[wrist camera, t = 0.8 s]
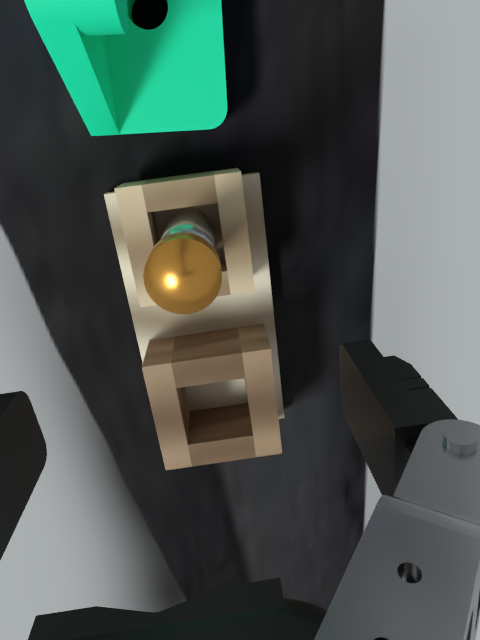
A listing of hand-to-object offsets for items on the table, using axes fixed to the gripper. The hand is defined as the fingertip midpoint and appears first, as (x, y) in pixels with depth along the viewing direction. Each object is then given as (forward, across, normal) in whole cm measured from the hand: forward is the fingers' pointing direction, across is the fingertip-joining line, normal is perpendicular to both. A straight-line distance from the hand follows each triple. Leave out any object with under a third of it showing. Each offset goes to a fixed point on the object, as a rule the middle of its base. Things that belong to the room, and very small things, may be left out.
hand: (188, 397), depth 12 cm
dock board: (+20, +1, +6) cm, 21 cm away
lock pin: (+19, 0, 0) cm, 19 cm away
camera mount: (+21, +1, -12) cm, 24 cm away
